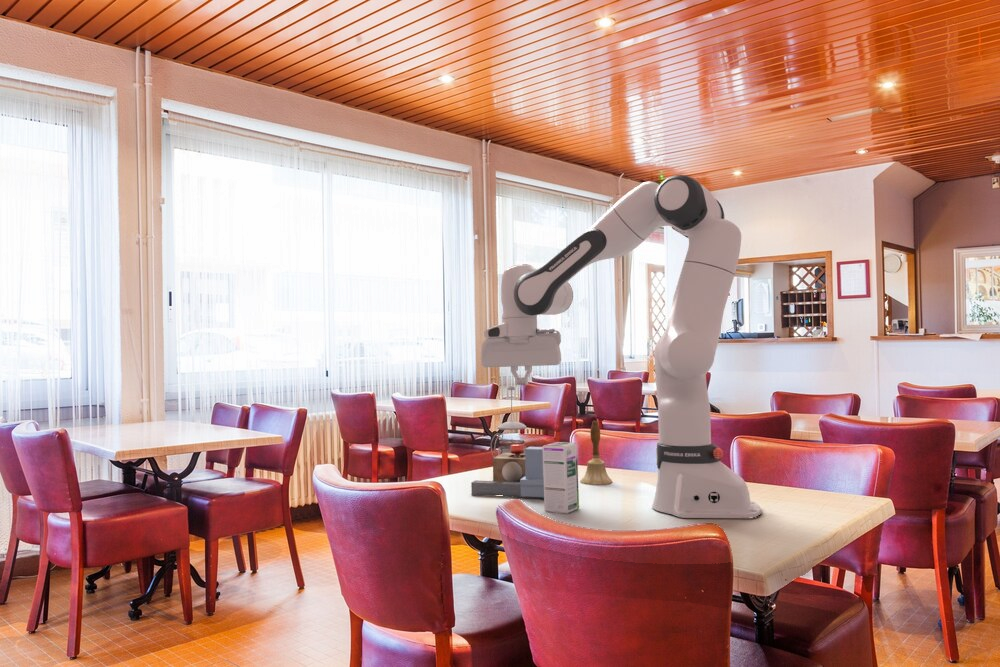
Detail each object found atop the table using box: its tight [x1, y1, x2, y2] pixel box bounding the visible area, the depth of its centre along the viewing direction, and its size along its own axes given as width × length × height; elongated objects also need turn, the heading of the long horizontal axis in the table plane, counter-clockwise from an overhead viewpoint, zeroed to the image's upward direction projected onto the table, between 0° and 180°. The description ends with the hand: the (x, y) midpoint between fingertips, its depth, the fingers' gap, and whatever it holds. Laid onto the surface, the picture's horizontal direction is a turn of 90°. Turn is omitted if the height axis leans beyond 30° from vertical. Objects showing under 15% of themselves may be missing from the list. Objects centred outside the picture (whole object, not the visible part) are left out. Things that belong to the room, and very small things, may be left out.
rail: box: [470, 479, 544, 499], centre depth 180 cm, size 21×3×3 cm, turn 74°
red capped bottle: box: [511, 444, 525, 457], centre depth 190 cm, size 3×3×8 cm
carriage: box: [520, 446, 544, 498], centre depth 178 cm, size 6×7×11 cm
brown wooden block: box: [492, 453, 525, 482], centre depth 190 cm, size 10×11×8 cm
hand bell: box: [580, 420, 613, 486], centre depth 196 cm, size 8×8×16 cm
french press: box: [490, 385, 527, 458], centre depth 205 cm, size 10×12×25 cm
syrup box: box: [542, 441, 580, 515], centre depth 163 cm, size 6×6×14 cm
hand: (522, 384), depth 189 cm, fingers closed
